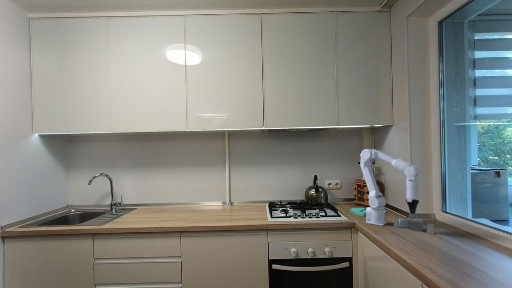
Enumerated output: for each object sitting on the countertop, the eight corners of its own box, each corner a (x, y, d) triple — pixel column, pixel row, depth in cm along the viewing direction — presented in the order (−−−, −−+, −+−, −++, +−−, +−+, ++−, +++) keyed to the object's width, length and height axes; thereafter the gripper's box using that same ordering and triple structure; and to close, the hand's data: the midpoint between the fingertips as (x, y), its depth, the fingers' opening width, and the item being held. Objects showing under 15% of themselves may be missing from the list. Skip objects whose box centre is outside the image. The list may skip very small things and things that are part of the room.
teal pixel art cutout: (386, 213, 186) (356, 209, 199) (386, 210, 186) (356, 206, 199) (377, 219, 171) (346, 214, 184) (377, 215, 171) (346, 210, 184)
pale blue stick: (401, 227, 151) (401, 219, 151) (400, 226, 152) (400, 218, 152) (423, 227, 150) (423, 219, 151) (422, 226, 151) (422, 219, 152)
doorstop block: (409, 230, 146) (409, 221, 147) (410, 228, 151) (410, 219, 151) (422, 232, 143) (422, 222, 143) (422, 229, 147) (422, 220, 147)
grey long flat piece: (393, 226, 153) (393, 218, 153) (394, 226, 154) (394, 218, 154) (433, 233, 140) (433, 224, 140) (433, 233, 141) (433, 224, 141)
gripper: (418, 190, 137) (418, 217, 137) (424, 187, 148) (424, 212, 147) (402, 189, 142) (402, 215, 141) (409, 186, 152) (409, 210, 152)
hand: (412, 213), depth 145 cm, fingers closed
